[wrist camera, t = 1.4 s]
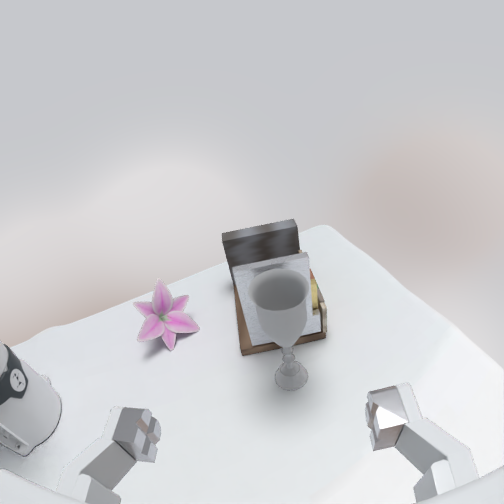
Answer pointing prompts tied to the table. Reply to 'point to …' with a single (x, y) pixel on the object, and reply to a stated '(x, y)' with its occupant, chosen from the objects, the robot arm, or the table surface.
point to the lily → (164, 316)
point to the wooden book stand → (260, 249)
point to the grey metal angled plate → (243, 280)
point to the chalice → (282, 318)
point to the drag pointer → (314, 294)
